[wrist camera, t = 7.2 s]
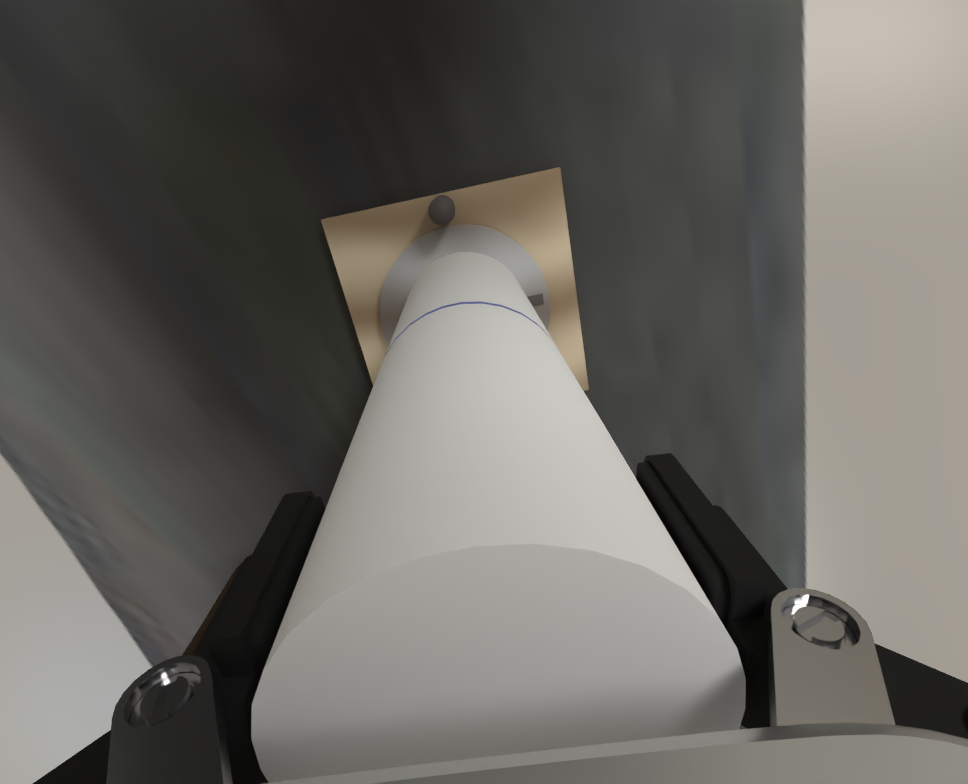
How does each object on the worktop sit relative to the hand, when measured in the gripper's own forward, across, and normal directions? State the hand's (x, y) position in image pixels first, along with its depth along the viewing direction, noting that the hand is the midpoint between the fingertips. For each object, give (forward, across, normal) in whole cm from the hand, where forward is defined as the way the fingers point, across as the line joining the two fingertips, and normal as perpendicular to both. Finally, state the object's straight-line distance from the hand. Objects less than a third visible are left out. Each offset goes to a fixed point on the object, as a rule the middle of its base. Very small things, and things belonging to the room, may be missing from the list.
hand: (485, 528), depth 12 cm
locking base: (+22, 0, 0) cm, 22 cm away
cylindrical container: (+20, 0, 0) cm, 20 cm away
